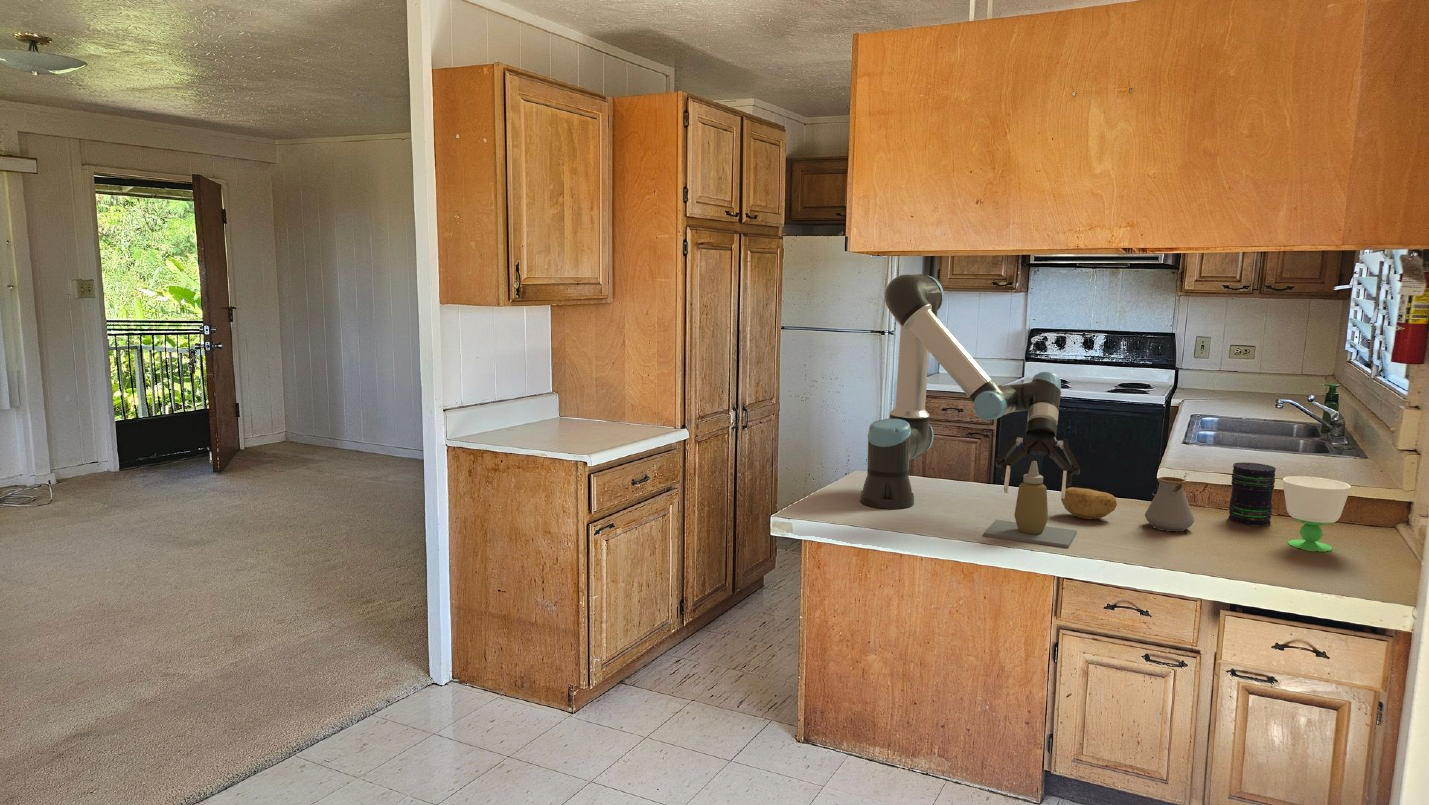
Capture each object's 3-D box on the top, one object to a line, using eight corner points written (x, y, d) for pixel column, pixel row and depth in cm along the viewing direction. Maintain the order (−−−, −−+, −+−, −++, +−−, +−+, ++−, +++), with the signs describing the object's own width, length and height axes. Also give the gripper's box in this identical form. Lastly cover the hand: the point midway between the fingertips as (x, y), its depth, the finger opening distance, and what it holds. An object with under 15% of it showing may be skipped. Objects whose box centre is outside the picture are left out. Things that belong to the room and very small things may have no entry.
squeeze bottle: (1007, 531, 225) (1010, 461, 223) (1023, 525, 231) (1027, 456, 228) (1037, 538, 219) (1041, 466, 217) (1053, 531, 225) (1057, 461, 222)
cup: (1293, 553, 210) (1299, 488, 208) (1266, 536, 224) (1272, 475, 221) (1356, 556, 208) (1364, 490, 206) (1325, 539, 222) (1331, 476, 219)
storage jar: (1279, 526, 233) (1284, 470, 231) (1241, 526, 233) (1246, 470, 231) (1256, 516, 243) (1261, 462, 240) (1220, 516, 243) (1224, 462, 240)
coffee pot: (1142, 520, 239) (1146, 465, 237) (1190, 524, 235) (1195, 468, 232) (1149, 542, 219) (1153, 482, 217) (1202, 547, 215) (1207, 486, 213)
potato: (1113, 526, 233) (1115, 496, 231) (1056, 518, 240) (1058, 489, 239) (1118, 517, 241) (1120, 488, 240) (1063, 510, 248) (1065, 482, 247)
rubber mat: (983, 535, 224) (983, 532, 224) (995, 522, 236) (996, 519, 236) (1068, 548, 214) (1068, 544, 214) (1076, 533, 226) (1076, 530, 226)
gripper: (1093, 436, 233) (1087, 506, 221) (993, 428, 243) (983, 495, 232) (1093, 419, 227) (1088, 490, 216) (991, 412, 237) (981, 480, 226)
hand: (1033, 493), depth 224 cm, fingers open, 13 cm apart
